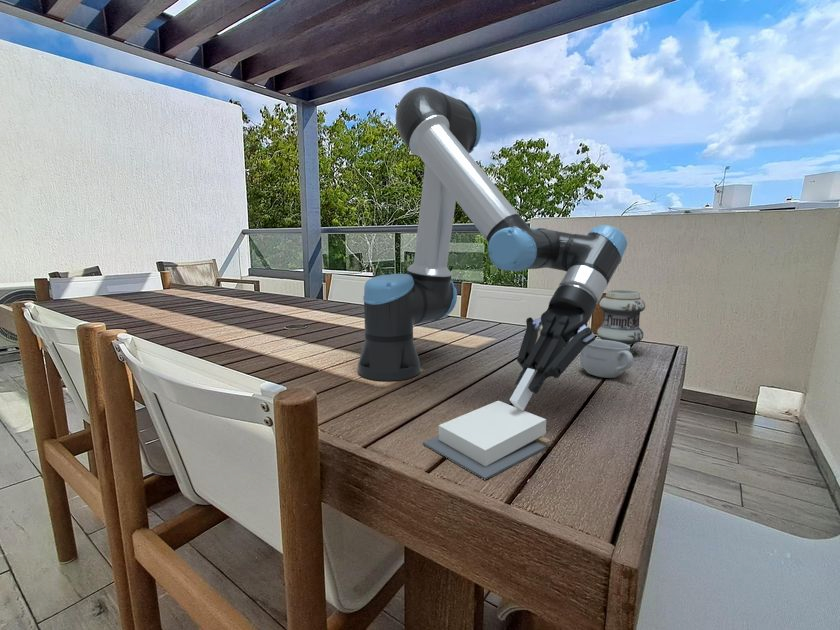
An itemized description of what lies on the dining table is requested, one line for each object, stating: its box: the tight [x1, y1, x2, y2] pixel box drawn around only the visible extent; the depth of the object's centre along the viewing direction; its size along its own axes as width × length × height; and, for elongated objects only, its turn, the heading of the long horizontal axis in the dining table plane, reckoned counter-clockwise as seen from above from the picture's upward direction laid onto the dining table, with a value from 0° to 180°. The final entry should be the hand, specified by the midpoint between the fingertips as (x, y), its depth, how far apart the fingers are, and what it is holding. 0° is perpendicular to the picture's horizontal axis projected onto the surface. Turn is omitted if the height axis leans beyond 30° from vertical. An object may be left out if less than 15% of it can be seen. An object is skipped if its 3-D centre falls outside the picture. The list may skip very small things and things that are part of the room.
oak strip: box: [534, 436, 552, 449], centre depth 70 cm, size 1×13×1 cm, turn 40°
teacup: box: [579, 338, 634, 379], centre depth 99 cm, size 14×11×8 cm
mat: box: [422, 435, 551, 481], centre depth 65 cm, size 15×13×1 cm
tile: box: [437, 400, 547, 466], centre depth 66 cm, size 3×10×14 cm
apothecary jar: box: [596, 289, 646, 357], centre depth 120 cm, size 12×12×18 cm
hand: (516, 405), depth 69 cm, fingers closed
